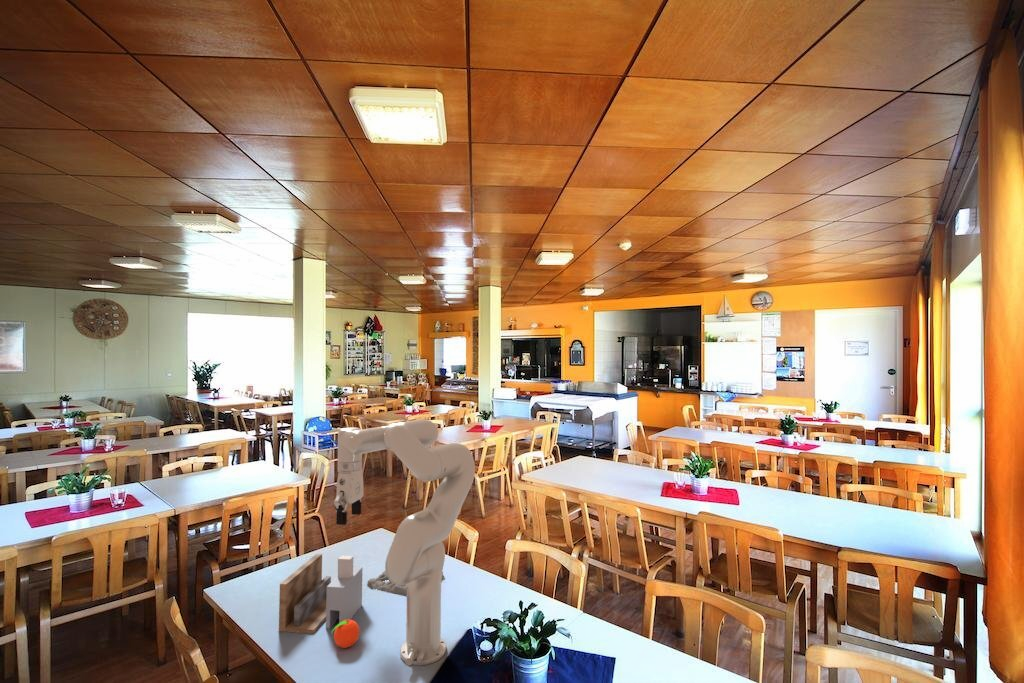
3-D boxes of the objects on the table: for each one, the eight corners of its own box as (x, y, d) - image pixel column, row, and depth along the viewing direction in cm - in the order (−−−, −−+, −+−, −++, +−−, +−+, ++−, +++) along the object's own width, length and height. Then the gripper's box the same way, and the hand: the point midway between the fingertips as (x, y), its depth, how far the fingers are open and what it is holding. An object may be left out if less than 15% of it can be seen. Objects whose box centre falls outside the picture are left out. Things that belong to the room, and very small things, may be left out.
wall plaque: (446, 576, 178) (446, 566, 178) (419, 601, 160) (419, 589, 160) (393, 566, 186) (393, 556, 186) (362, 588, 168) (362, 577, 168)
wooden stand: (313, 633, 140) (314, 585, 140) (278, 631, 141) (279, 583, 141) (346, 596, 162) (347, 555, 162) (315, 594, 163) (316, 553, 163)
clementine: (333, 657, 129) (334, 631, 129) (326, 645, 134) (327, 620, 135) (362, 647, 133) (363, 622, 134) (354, 635, 139) (355, 611, 139)
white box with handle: (342, 629, 142) (344, 567, 143) (325, 628, 143) (327, 566, 143) (361, 605, 156) (362, 548, 157) (346, 604, 157) (347, 548, 157)
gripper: (347, 472, 144) (346, 529, 143) (372, 460, 161) (371, 511, 160) (324, 471, 145) (324, 528, 144) (351, 460, 162) (351, 510, 161)
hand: (349, 519), depth 152 cm, fingers open, 9 cm apart
